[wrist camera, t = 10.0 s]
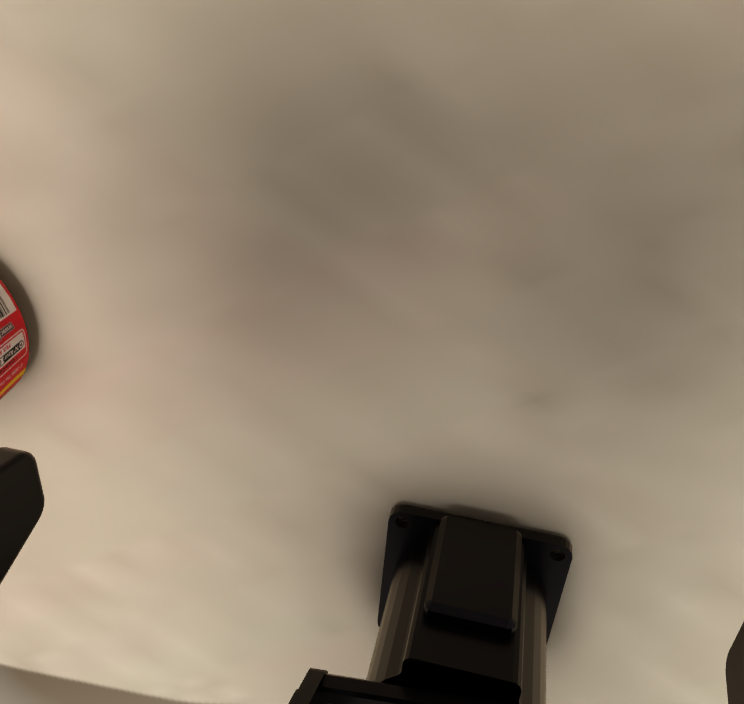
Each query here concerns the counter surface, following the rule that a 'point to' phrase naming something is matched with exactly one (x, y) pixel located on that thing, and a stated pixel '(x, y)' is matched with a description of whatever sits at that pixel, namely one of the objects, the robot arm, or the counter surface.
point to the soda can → (11, 342)
